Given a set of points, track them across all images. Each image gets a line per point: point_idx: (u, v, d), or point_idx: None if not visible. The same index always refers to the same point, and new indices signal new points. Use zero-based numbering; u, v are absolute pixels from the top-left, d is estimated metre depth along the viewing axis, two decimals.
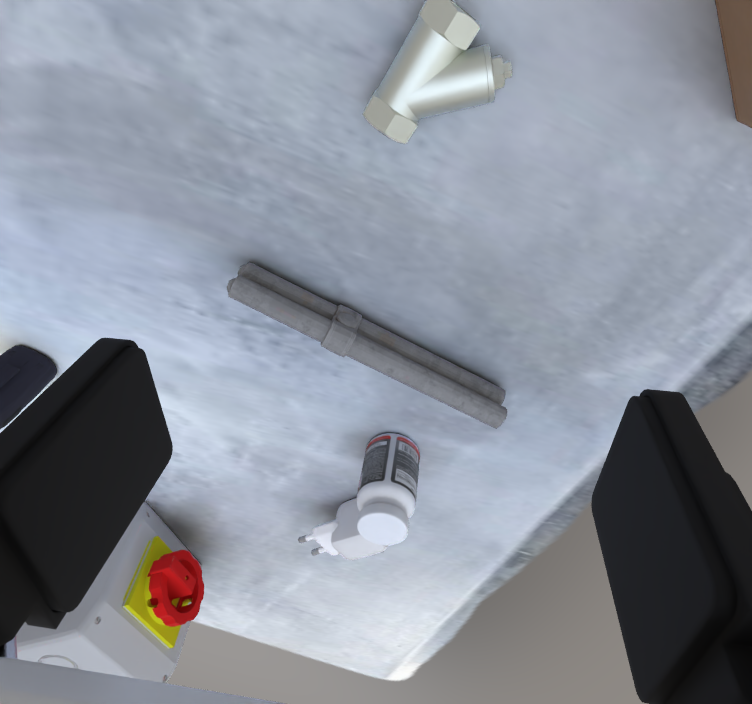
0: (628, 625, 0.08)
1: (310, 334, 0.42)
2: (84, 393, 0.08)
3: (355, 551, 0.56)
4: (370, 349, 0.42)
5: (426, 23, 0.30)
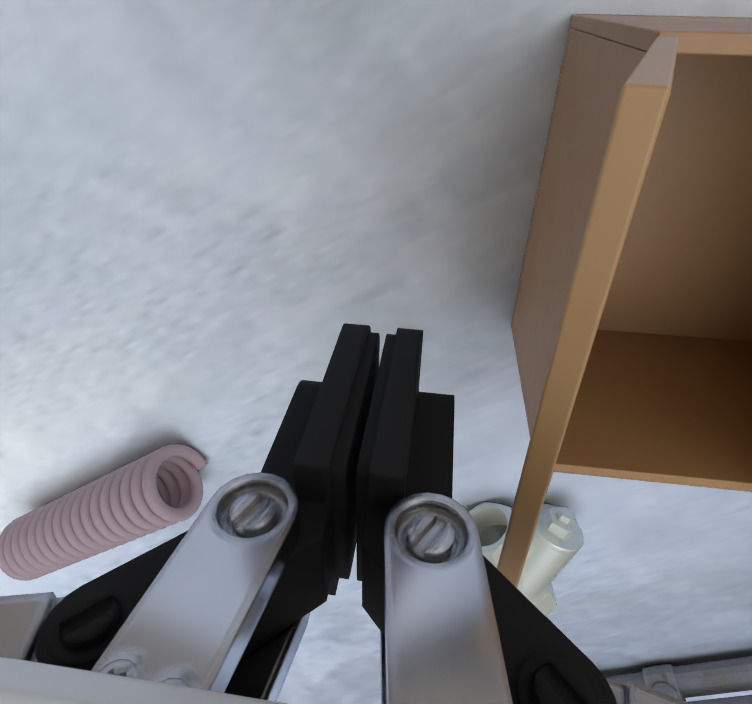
0: None
1: None
2: (360, 373, 0.09)
3: None
4: None
5: None
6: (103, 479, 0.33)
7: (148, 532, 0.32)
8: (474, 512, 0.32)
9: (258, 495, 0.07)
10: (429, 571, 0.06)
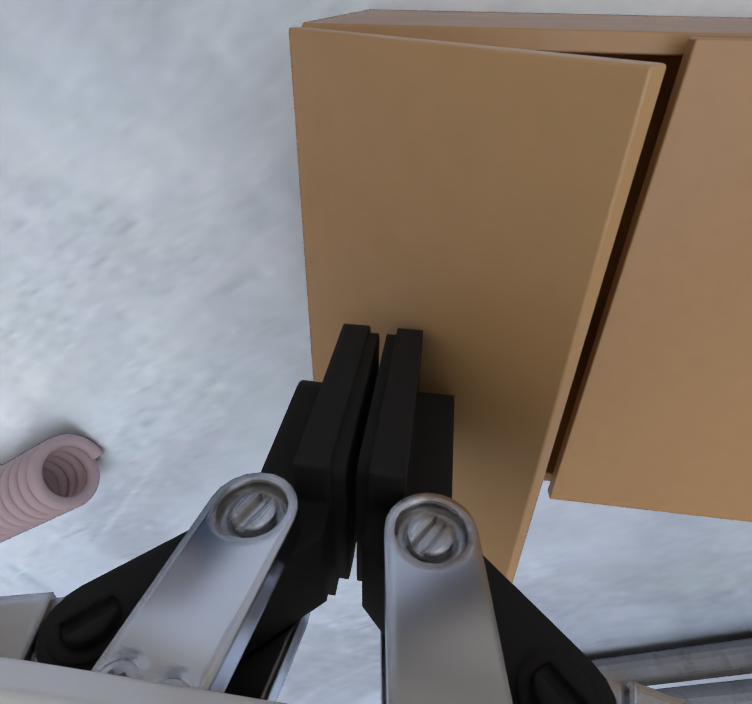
0: None
1: None
2: (360, 373, 0.09)
3: None
4: None
5: None
6: None
7: (41, 520, 0.33)
8: None
9: (258, 495, 0.07)
10: (429, 570, 0.06)
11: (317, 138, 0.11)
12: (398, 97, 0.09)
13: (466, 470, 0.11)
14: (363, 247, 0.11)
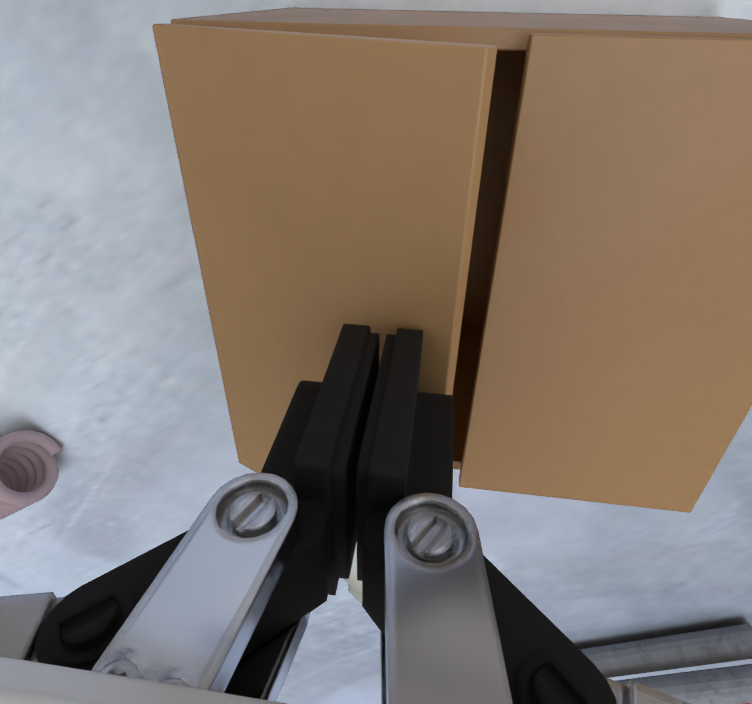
0: None
1: None
2: (360, 373, 0.09)
3: None
4: None
5: None
6: None
7: None
8: None
9: (258, 495, 0.07)
10: (429, 571, 0.06)
11: (197, 129, 0.11)
12: (276, 85, 0.09)
13: None
14: (258, 229, 0.12)
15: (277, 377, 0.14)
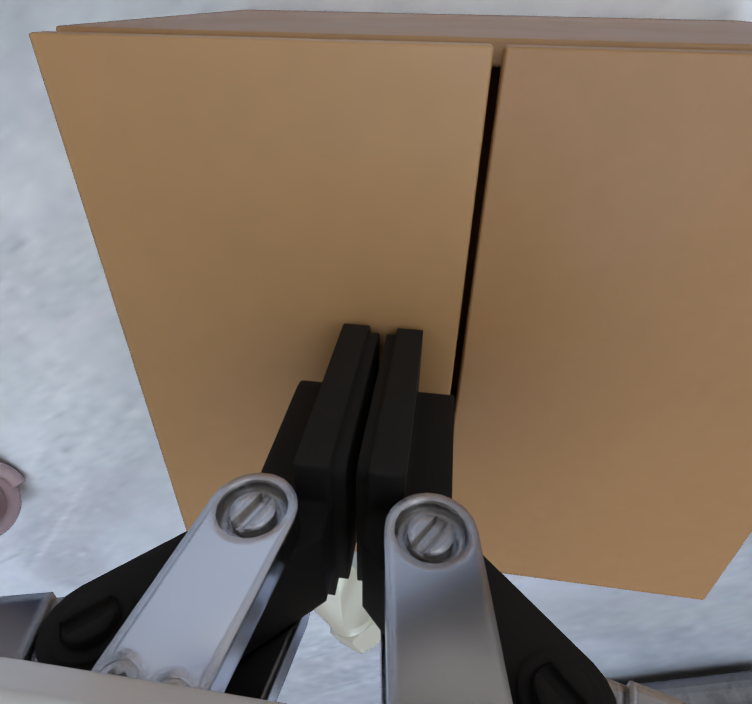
0: None
1: None
2: (360, 373, 0.09)
3: None
4: None
5: None
6: None
7: None
8: None
9: (258, 495, 0.07)
10: (429, 571, 0.06)
11: (111, 159, 0.09)
12: (233, 98, 0.08)
13: None
14: (210, 264, 0.10)
15: (241, 422, 0.12)
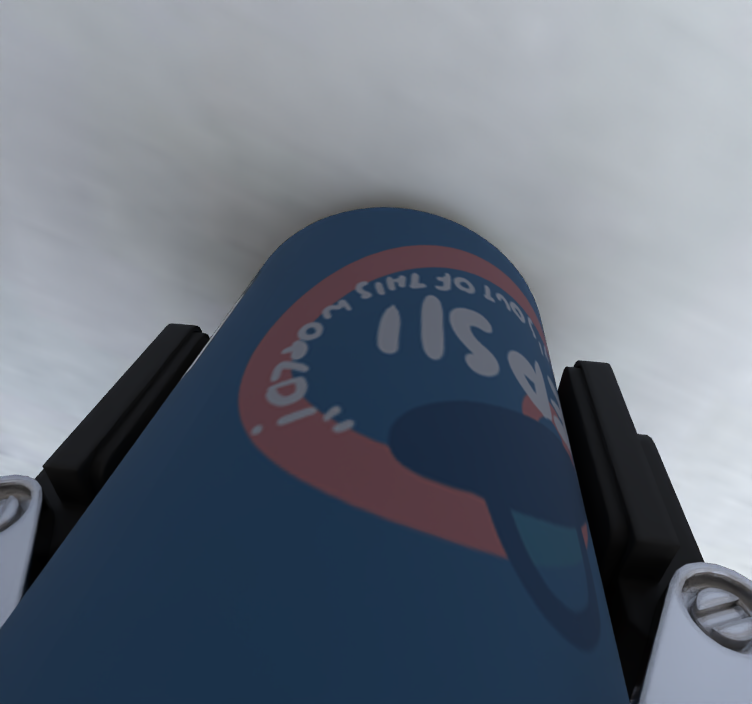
0: None
1: None
2: (162, 374, 0.09)
3: None
4: None
5: None
6: None
7: None
8: None
9: None
10: (712, 649, 0.05)
11: None
12: None
13: None
14: None
15: None
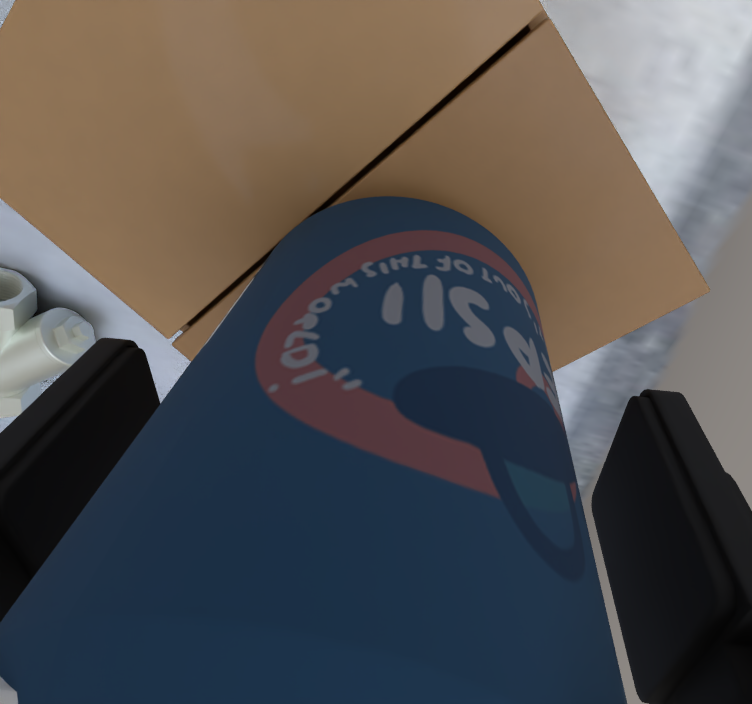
0: (628, 625, 0.08)
1: None
2: (84, 393, 0.08)
3: None
4: None
5: None
6: None
7: None
8: None
9: None
10: None
11: None
12: None
13: (233, 200, 0.13)
14: None
15: (111, 91, 0.12)
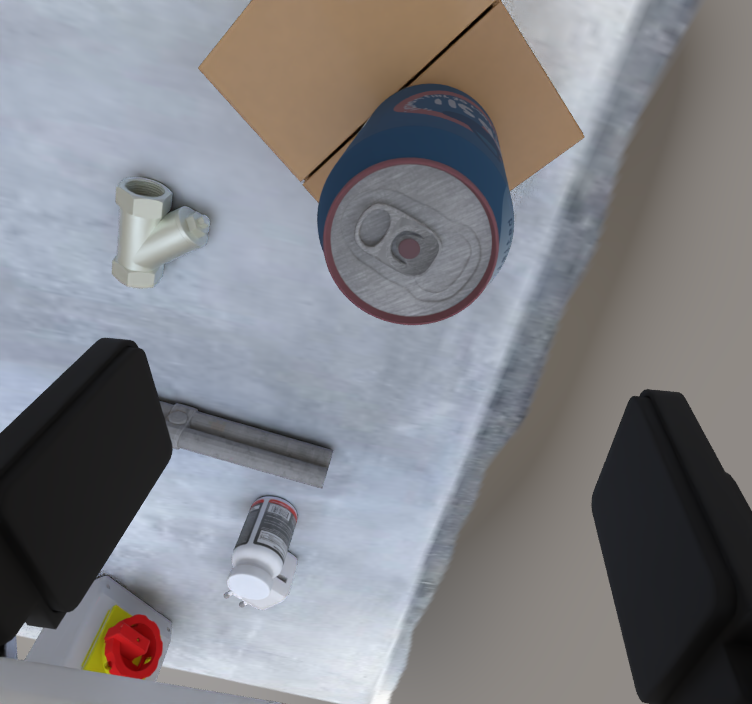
0: (628, 625, 0.08)
1: None
2: (84, 393, 0.08)
3: (261, 602, 0.63)
4: (195, 440, 0.50)
5: (121, 208, 0.38)
6: None
7: None
8: (144, 180, 0.40)
9: None
10: None
11: None
12: None
13: (348, 94, 0.25)
14: None
15: (295, 37, 0.24)
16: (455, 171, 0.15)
